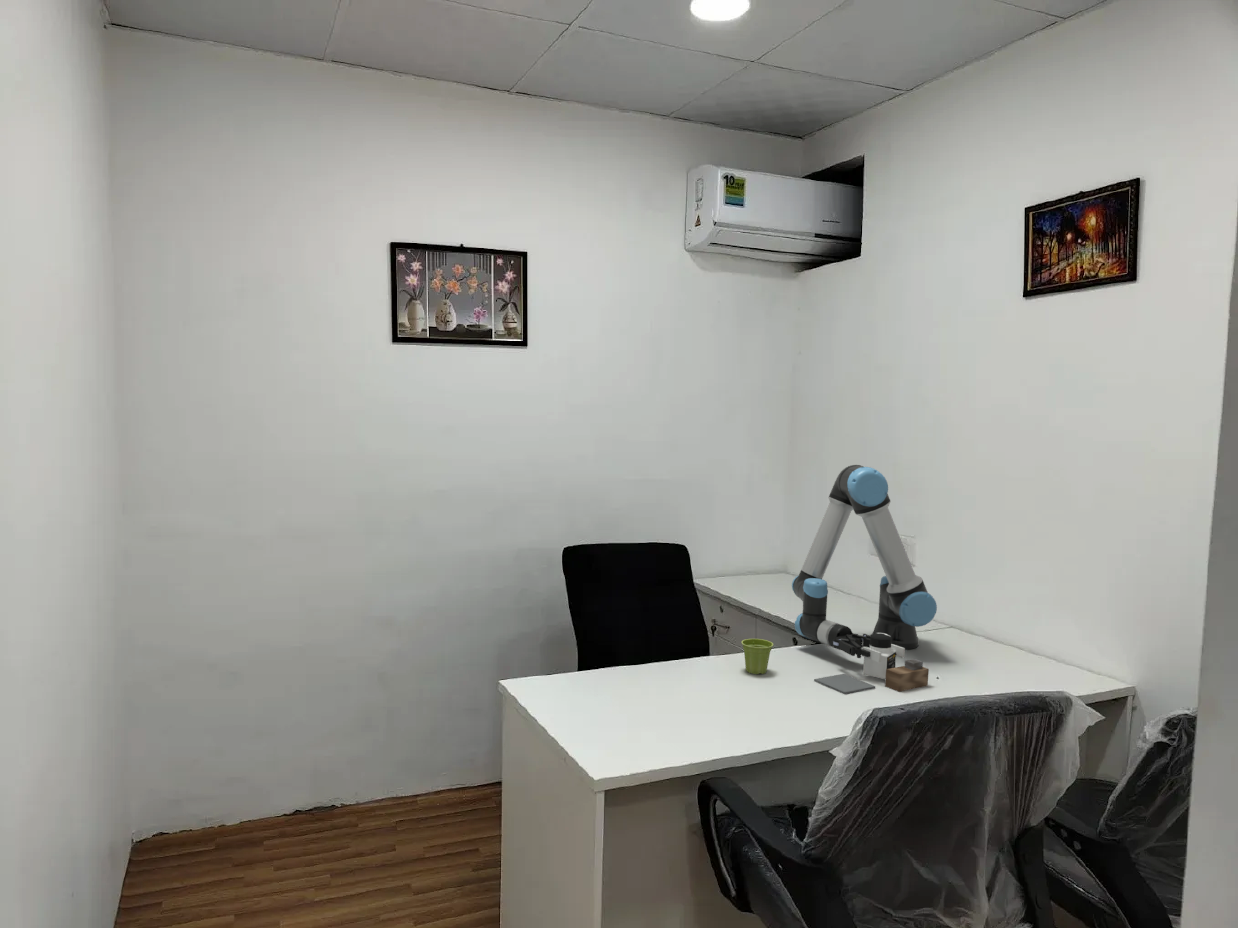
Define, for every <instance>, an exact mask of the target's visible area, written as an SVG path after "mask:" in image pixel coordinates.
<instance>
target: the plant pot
mask: <svg viewBox="0 0 1238 928" xmlns="http://www.w3.org/2000/svg"><path fill="white" fill-rule="evenodd" d="M741 645H742V648H743V653H744V665H745V671H747V673H749V674H753V675H759V674H761V675H763V674H766V673H767V671H768V666H769V659H770V654H771V651H772V648H773V647H774V643H773V642H772V641H769V640H767V639H762V638H747V639H743V640H741Z"/></svg>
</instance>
